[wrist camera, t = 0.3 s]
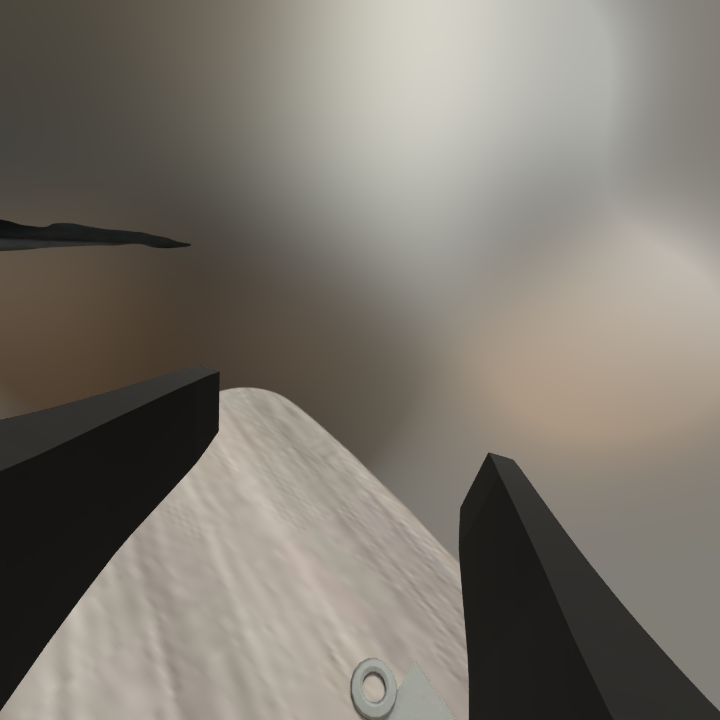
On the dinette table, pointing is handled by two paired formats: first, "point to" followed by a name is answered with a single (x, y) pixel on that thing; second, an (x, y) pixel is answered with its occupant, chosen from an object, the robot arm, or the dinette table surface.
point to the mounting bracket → (398, 695)
